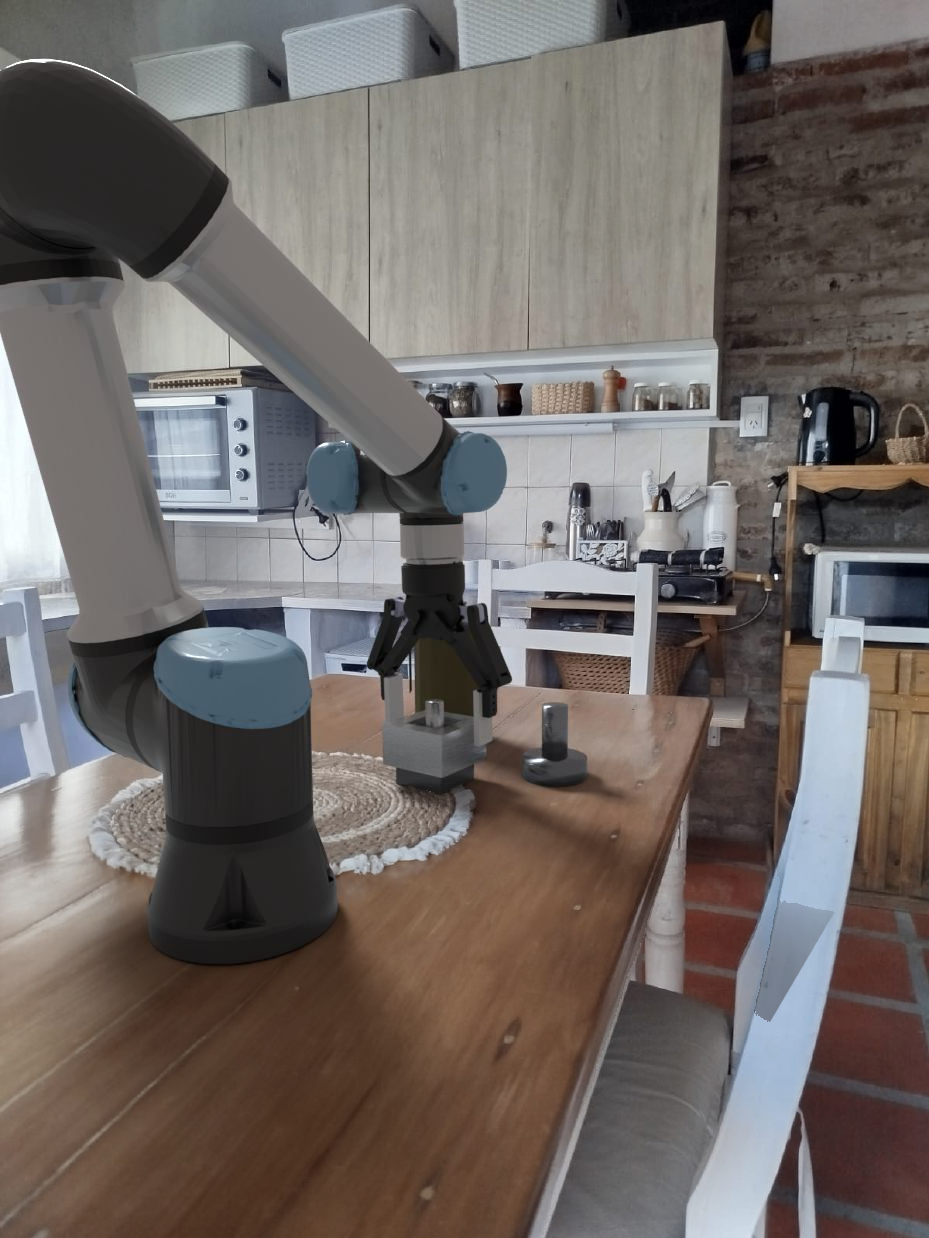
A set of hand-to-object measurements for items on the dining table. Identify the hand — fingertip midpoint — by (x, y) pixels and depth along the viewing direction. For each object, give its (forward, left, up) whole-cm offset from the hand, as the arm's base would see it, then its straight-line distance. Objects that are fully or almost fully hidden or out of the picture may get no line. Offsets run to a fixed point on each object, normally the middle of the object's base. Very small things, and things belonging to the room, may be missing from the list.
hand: (437, 734), depth 103 cm
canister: (+16, +10, -6) cm, 19 cm away
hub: (+10, -11, -6) cm, 16 cm away
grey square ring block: (0, 0, -3) cm, 3 cm away
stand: (0, 0, -6) cm, 6 cm away
